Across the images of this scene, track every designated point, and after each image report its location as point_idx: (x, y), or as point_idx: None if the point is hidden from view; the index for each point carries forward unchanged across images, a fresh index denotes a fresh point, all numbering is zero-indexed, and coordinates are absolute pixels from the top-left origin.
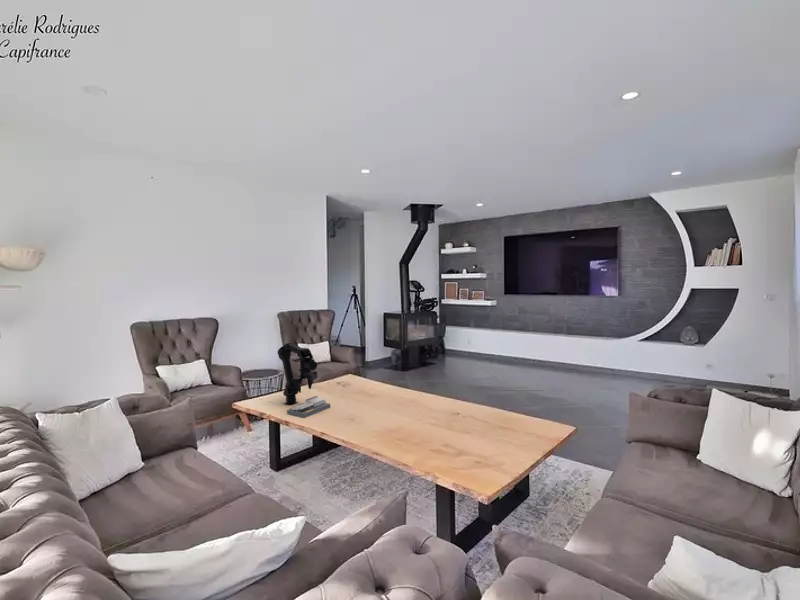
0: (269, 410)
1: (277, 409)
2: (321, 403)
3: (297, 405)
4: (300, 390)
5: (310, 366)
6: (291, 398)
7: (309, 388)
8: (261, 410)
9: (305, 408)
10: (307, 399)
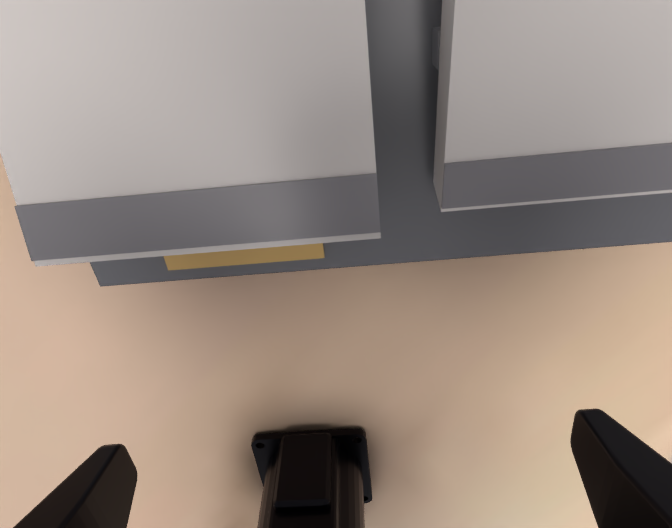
0: None
1: (549, 429)
2: None
3: (637, 173)
4: (646, 465)
5: None
6: (338, 508)
7: (123, 479)
8: None
9: None
10: (337, 218)
